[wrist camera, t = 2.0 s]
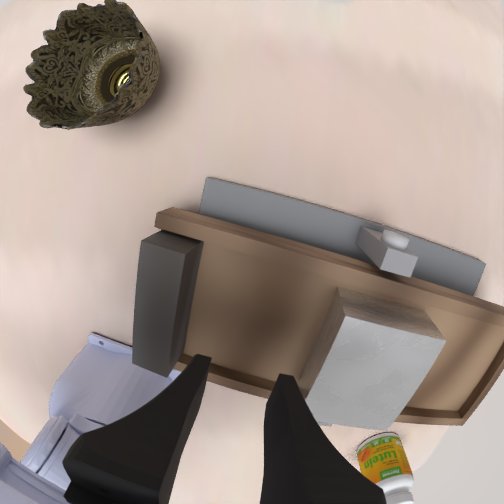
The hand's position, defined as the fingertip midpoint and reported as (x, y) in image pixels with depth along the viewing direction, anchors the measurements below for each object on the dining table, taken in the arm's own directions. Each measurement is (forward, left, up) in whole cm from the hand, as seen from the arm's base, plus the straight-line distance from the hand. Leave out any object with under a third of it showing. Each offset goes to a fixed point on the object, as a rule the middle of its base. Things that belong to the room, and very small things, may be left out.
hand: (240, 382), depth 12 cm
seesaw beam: (+7, 0, -6) cm, 9 cm away
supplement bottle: (+19, -17, -11) cm, 28 cm away
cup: (-12, +12, -11) cm, 20 cm away
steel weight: (+7, 0, -5) cm, 9 cm away
